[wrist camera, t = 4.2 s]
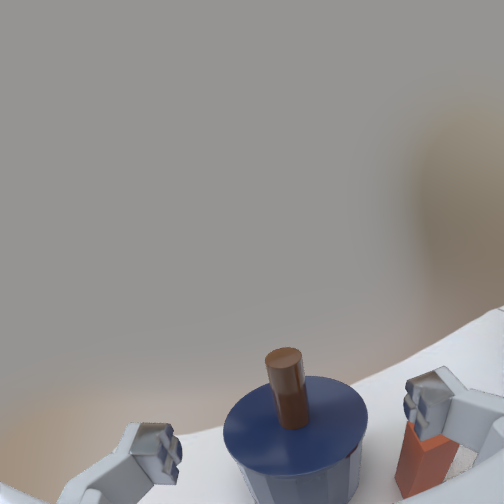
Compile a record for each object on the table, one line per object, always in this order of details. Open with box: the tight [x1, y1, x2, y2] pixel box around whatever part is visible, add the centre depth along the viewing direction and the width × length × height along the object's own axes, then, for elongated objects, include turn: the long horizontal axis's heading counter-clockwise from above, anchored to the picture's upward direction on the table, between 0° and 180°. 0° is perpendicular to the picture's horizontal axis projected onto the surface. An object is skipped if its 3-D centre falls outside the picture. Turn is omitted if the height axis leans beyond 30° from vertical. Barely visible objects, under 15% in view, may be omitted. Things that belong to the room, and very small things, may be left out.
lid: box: [223, 347, 368, 480], centre depth 23 cm, size 13×13×8 cm
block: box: [395, 421, 460, 499], centre depth 19 cm, size 4×4×10 cm
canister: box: [237, 442, 362, 504], centre depth 25 cm, size 12×12×10 cm
